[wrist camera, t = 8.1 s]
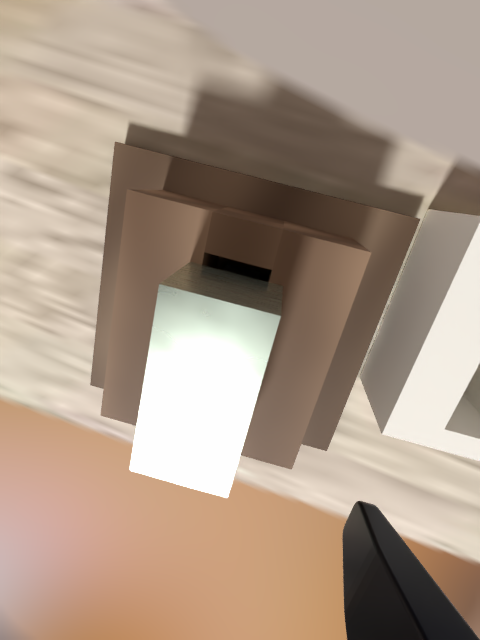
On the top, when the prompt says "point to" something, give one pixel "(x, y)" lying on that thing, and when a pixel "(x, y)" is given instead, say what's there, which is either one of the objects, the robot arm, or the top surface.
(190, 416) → the pale grey block
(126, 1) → the top surface
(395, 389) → the holder
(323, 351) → the channel mount plate
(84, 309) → the top surface
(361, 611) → the robot arm
